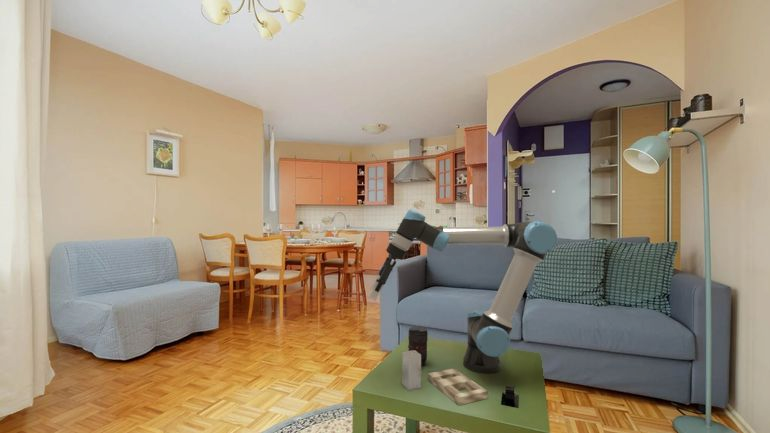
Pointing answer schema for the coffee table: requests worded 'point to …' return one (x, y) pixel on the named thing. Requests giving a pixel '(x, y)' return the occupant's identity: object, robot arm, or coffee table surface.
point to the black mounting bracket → (510, 397)
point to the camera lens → (418, 341)
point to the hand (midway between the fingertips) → (372, 294)
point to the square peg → (411, 370)
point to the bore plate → (457, 386)
